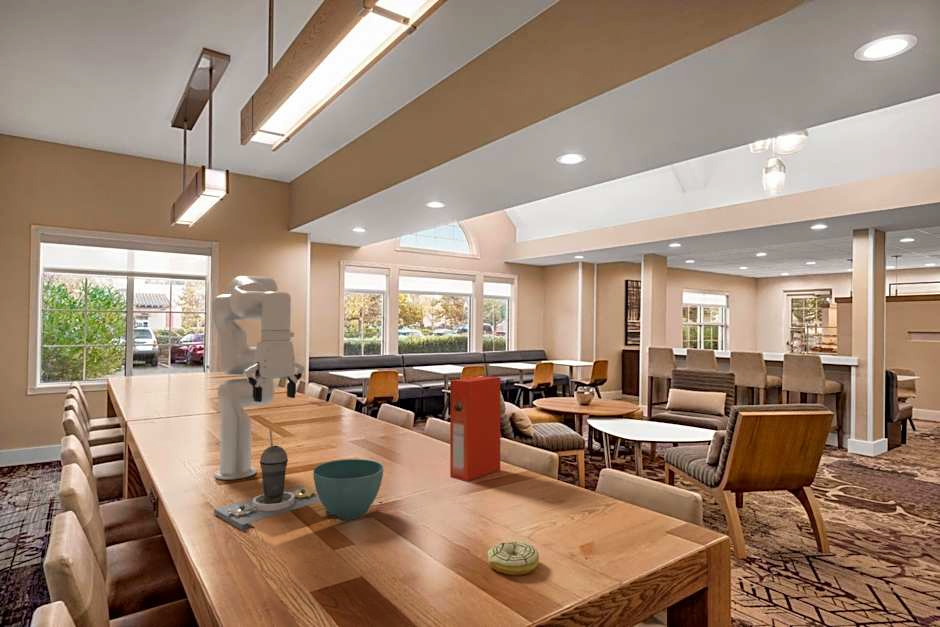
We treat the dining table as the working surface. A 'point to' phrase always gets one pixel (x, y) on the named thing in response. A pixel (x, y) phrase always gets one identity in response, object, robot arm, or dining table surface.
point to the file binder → (474, 427)
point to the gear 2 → (303, 494)
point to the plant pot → (348, 486)
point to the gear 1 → (241, 511)
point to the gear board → (261, 514)
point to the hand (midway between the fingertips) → (274, 399)
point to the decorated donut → (513, 558)
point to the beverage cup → (273, 473)
